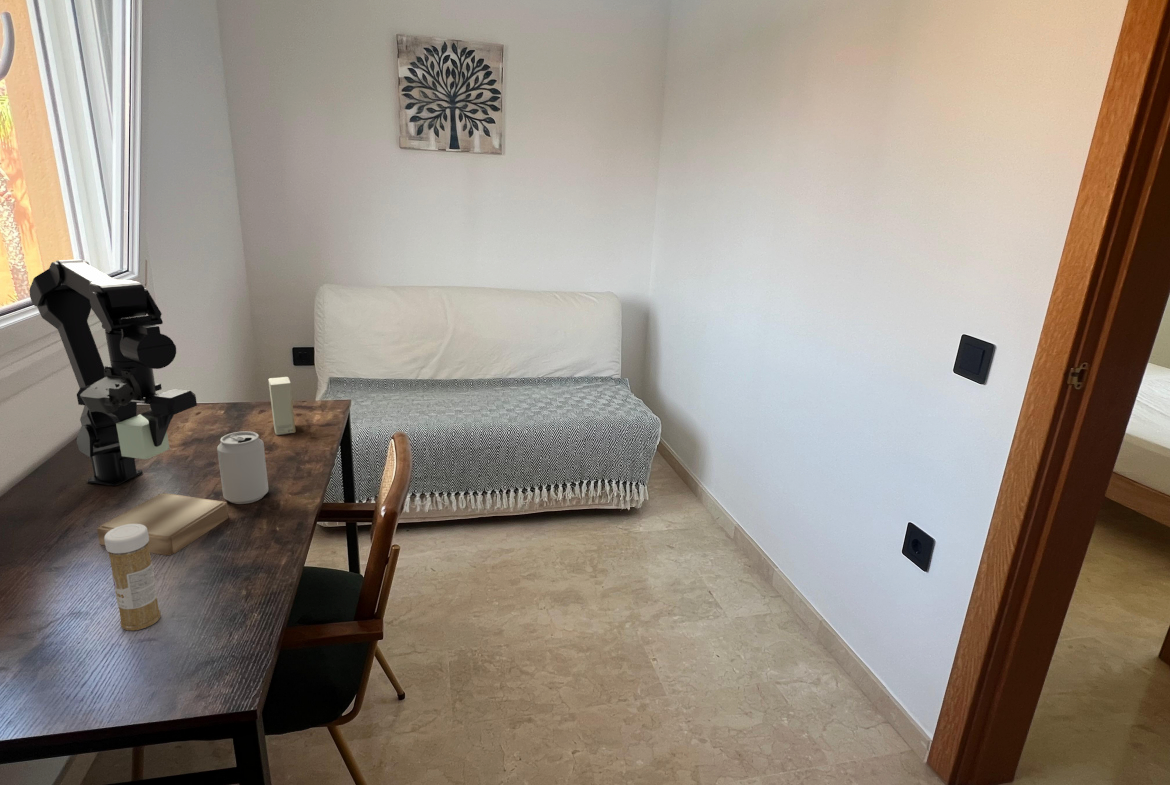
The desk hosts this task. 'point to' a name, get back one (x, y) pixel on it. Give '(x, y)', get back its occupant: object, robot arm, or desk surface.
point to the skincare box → (282, 405)
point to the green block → (138, 439)
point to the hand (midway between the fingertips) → (144, 444)
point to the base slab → (171, 520)
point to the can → (242, 467)
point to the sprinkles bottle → (133, 576)
